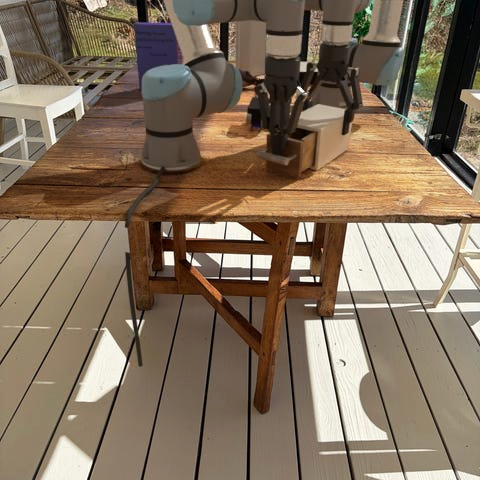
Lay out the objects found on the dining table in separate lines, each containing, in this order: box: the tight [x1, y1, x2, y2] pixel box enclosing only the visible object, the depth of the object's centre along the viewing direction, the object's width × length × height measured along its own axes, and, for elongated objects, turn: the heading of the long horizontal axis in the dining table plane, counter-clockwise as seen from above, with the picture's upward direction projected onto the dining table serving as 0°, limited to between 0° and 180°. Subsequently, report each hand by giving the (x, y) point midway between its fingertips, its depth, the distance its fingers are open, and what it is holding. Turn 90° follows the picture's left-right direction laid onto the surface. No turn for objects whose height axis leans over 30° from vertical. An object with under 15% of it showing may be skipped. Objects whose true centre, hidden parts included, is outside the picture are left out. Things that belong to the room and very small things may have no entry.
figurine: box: [238, 69, 265, 88], centre depth 190 cm, size 24×8×30 cm
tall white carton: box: [234, 20, 268, 77], centre depth 210 cm, size 19×15×28 cm
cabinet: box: [297, 104, 353, 171], centre depth 126 cm, size 19×11×11 cm, turn 144°
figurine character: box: [245, 96, 270, 132], centre depth 148 cm, size 7×8×15 cm
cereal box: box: [133, 21, 184, 91], centre depth 182 cm, size 17×5×24 cm, turn 86°
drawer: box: [256, 128, 318, 178], centre depth 118 cm, size 23×10×9 cm, turn 144°
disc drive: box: [299, 61, 318, 85], centre depth 207 cm, size 18×22×5 cm
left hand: (277, 160), depth 113 cm, fingers closed
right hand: (325, 129), depth 129 cm, fingers closed on cabinet, 11 cm apart
